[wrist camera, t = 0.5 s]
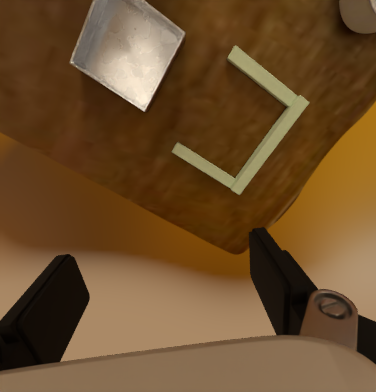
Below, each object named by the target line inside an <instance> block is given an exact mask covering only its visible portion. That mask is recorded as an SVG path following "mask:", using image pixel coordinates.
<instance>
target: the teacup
mask: <svg viewBox="0 0 376 392" xmlns="http://www.w3.org/2000/svg"><path fill="white" fill-rule="evenodd" d="M339 7H340V13H341V17H342V19H343V21H344V23H345V24H346V26H347V27H348V28H350V29H351V30H353V31H355V32H357V33H363V34H370V33H375V32H376V0H340V1H339Z"/></svg>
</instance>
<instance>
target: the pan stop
mask: <svg viewBox="0 0 376 392" xmlns="http://www.w3.org/2000/svg"><path fill="white" fill-rule="evenodd" d="M227 60H228V61H229V62H230V63H232V64H233V65H234V66H235V67H237V68H238V69H239V70H240V71H242V72H243V73H244V74H245V75H247V76H248V77H249V78H251V79H252V80H253V81H254V82H256V83H257V84H258V85H259V86H261V87H262V88H263V89H265V90H266V91H267V92H268V93H270V94H271V95H272V96H273V97H275V98H276V99H277V100H278V101H280V102H281V103H282V104H284V105H285V106H286V107H287V108H286V109H285V110H284V112H283V113H282V114H281V116H280V117H279V119H278V120H277V121H276V123H275V124H274V125H273V127H272V128H271V129H270V131H269V132H268V134H267V135H266V136H265V138H264V139H263V140H262V142H261V143H260V145H259V146H258V147H257V149H256V150H255V151H254V153H253V154H252V156H251V157H250V158H249V160H248V161H247V162H246V164H245V165H244V167H243V168H242V169H241V171H240V172H239V173H238V175H237V176H236V178H234V177H232V176H231V175H229V174H227V173H226V172H224V171H223V170H221V169H220V168H218V167H216V166H215V165H213V164H212V163H210V162H209V161H207V160H205V159H204V158H202V157H201V156H199V155H198V154H196V153H194V152H193V151H191V150H190V149H188V148H187V147H185V146H183V145H182V144H180V143H179V142H177V143H176V145H175V146H174V148H173V150H172V153H174V154H176V155H177V156H179V157H180V158H182V159H184V160H185V161H187V162H188V163H190V164H192V165H193V166H195V167H197V168H198V169H200V170H201V171H203V172H205V173H206V174H208V175H209V176H211V177H213V178H214V179H216V180H218V181H219V182H221V183H222V184H224V185H226V186H227V187H229V188H230V189H231V190H232V191H234V192H235V193H237V194H239V195H240V194H241V192H242V191H243V190H244V188H245V187H246V186H247V184H248V183H249V182H250V180H251V179H252V178H253V177H254V175H255V174H256V173H257V171H258V170H259V169H260V167H261V166H262V165H263V163H264V162H265V161H266V159H267V158H268V157H269V155H270V154H271V153H272V151H273V150H274V149H275V147H276V146H277V145H278V144H279V142H280V141H281V140H282V138H283V137H284V136H285V134H286V133H287V132H288V130H289V129H290V128H291V126H292V125H293V124H294V122H295V121H296V120H297V118H298V117H299V116H300V114H301V113H302V112H303V111H304V109H305V108H306V107H307V105H308V104H309V102H308V101H307V100H306V99H305V98H303V97H302V96H297V95H296V94H295V93H293V92H292V91H291V90H290V89H288V88H287V87H286V86H285V85H284V84H282V83H281V82H280V81H279V80H277V79H276V78H275V77H274V76H273V75H271V74H270V73H269V72H268V71H266V70H265V69H264V68H263V67H262V66H260V65H259V64H258V63H257V62H255V61H254V60H253V59H252V58H251V57H249V56H248V55H247V54H246V53H244V52H243V51H242V50H241V49H240V48H238V47H237V46H236V45H235V46H234V48H233V49H232V51H231V53H230V54H229V56H228V58H227Z"/></svg>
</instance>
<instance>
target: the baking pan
mask: <svg viewBox="0 0 376 392" xmlns="http://www.w3.org/2000/svg"><path fill="white" fill-rule="evenodd" d="M185 35H186V33H185V32H184V31H183V30H182V29H180V28H179V27H178V26H176V25H175V24H174V23H173V22H171V21H170V20H169V19H168V18H166V17H165V16H164V15H162V14H161V13H160V12H159V11H157V10H156V9H155V8H153V7H152V6H151V5H150V4H148V3H147V2H146V1H144V0H93V2H92V4H91V7H90V10H89V12H88V15H87V17H86V20H85V23H84V25H83V28H82V31H81V33H80V36H79V38H78V41H77V44H76V46H75V49H74V52H73V54H72V57H71V60H70V62H69V63H70V64H71V65H73V66H75V67H76V68H78V69H79V70H81V71H82V72H84V73H85V74H87V75H88V76H90V77H92V78H93V79H95V80H96V81H98V82H99V83H101V84H102V85H104V86H105V87H107V88H109V89H110V90H112V91H113V92H115V93H116V94H118V95H119V96H121V97H122V98H124V99H126V100H127V101H129V102H130V103H132V104H133V105H135V106H136V107H138V108H139V109H141V110H143V111H144V112H148V111H149V109H150V107H151V105H152V103H153V101H154V99H155V97H156V95H157V94H158V92H159V90H160V88H161V86H162V84H163V82H164V80H165V78H166V76H167V75H168V73H169V71H170V69H171V67H172V65H173V63H174V61H175V59H176V57H177V56H178V54H179V52H180V50H181V48H182V46H183V44H184V42H185Z"/></svg>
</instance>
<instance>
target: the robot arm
mask: <svg viewBox="0 0 376 392" xmlns="http://www.w3.org/2000/svg"><path fill="white" fill-rule="evenodd" d="M249 248H250V274H251V278H252V281H253V283H254V285H255V288H256V290H257V292H258V294H259V296H260V299H261V301H262V303H263V305H264V307H265V310H266V312H267V315H268V317H269V319H270V321H271V324H272V326H273V328H274V330H275V333H276V335H275V336H260V337H250V338H241V339H232V340H223V341H216V342H207V343H199V344H192V345H183V346H175V347H168V348H160V349H153V350H145V351H137V352H130V353H122V354H115V355H107V356H100V357H92V358H85V359H78V360H71V361H63V362H60V360H61V358H62V356H63V354H64V352H65V350H66V348H67V346H68V344H69V342H70V340H71V338H72V335H73V333H74V331H75V329H76V327H77V325H78V323H79V321H80V319H81V317H82V315H83V312H84V311H85V309H86V306H87V304H88V302H89V298H90V297H89V292H88V290H87V288H86V285H85V282H84V280H83V277H82V275H81V272H80V270H79V268H78V265H77V263H76V260H75V258H74V257H73V256H71V255H70V254H66V255H58V256H56V257H55V258H54V259H53V260H52V262H51V263H50V264H49V265H48V266H47V267H46V269H45V270H44V271H43V272H42V273H41V274H40V275H39V277H38V278H37V279H36V280H35V281H34V282H33V284H32V285H31V286H30V287H29V288H28V289H27V291H26V292H25V293H24V294H23V295H22V296H21V298H20V299H19V300H18V301H17V302H16V303H15V304H14V305H13V307H12V308H11V309H10V310H9V311H8V312H7V314H6V315H5V316H4V317H3V318H2V319H1V320H0V392H376V322H375V321H372V320H370V319H368V318H365V317H363V316H361V315H358V311H357V308H356V307H355V305H354V304H353V302H352V301H350V300H349V299H348V298H347V297H345V296H344V295H342V294H340V293H338V292H335V291H332V290H327V289H320V290H318V288H317V287H316V286H315V285H314V284H313V282H312V281H311V280H310V278H309V277H308V276H307V275H306V273H305V272H304V271H303V270H302V268H301V267H300V266H299V265H298V263H297V262H296V261H295V260H294V259H293V257H292V256H291V255H290V254H289V252H287V251H286V250H283V251H282V250H281V249H280V247H279V246H278V245H277V243H276V242H275V241H274V239H273V238H272V237H271V235H270V234H269V233H268V232H267V230H266V229H265V228H264V227H262V228H254V229H253V230H252V232H249Z"/></svg>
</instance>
